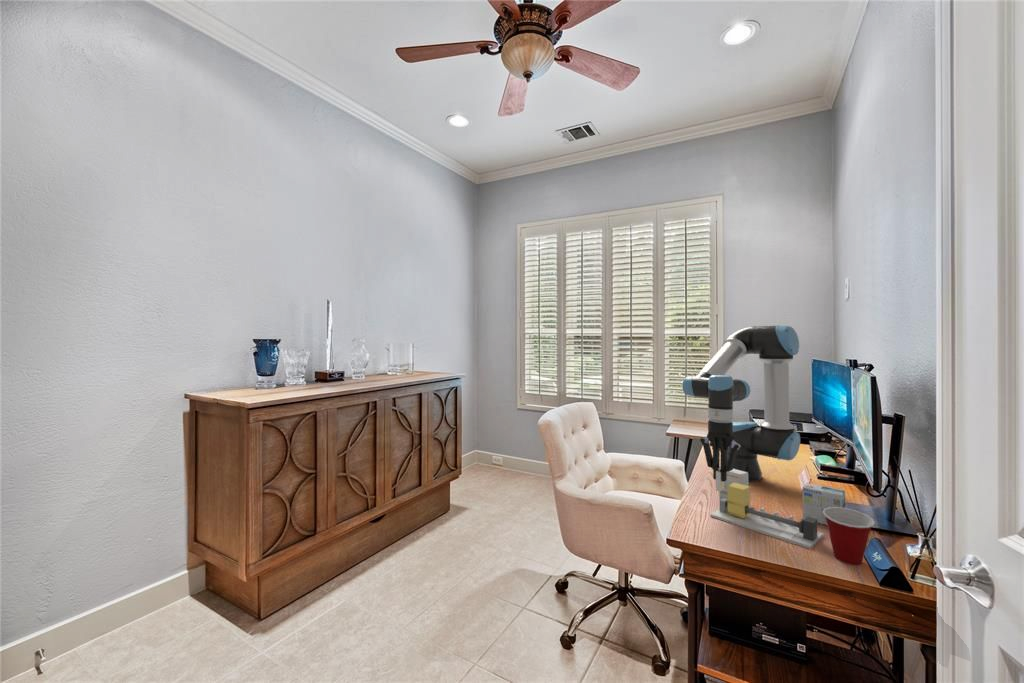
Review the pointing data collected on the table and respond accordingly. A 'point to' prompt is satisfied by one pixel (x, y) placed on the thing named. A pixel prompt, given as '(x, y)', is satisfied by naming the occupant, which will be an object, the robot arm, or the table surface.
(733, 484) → the sleeve
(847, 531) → the plastic cup
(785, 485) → the table surface
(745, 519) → the rod slider on plate
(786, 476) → the table surface
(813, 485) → the light bulb box
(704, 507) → the table surface
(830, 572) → the table surface
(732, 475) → the ink box
